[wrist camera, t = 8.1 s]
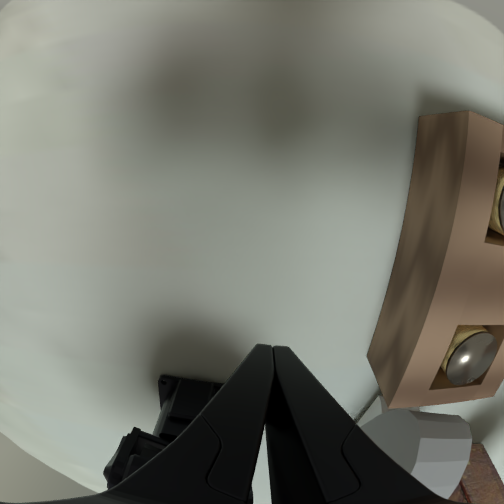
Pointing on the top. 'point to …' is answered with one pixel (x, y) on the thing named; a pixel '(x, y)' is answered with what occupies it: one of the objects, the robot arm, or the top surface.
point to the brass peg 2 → (498, 205)
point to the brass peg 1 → (468, 354)
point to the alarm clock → (421, 443)
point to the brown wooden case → (479, 480)
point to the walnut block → (444, 264)
